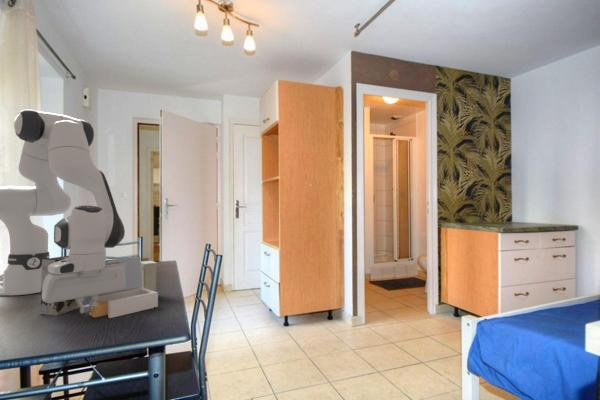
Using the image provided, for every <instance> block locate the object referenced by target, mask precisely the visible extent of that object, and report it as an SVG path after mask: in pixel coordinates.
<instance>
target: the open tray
mask: <svg viewBox="0 0 600 400" xmlns="http://www.w3.org/2000/svg"><path fill="white" fill-rule="evenodd" d="M109 300H111V301H109ZM104 301H108V315H107V318H108V319H112V318H116V317H120V316H125V315H128V314H133V313H137V312H141V311H145V310H149V309H154V307H155V308H158V307H159V305H158V304H159V292H158V291H156V292H155V291H152V290H149V289H145V288H142V287H140V288H135V289H129V290H124V291H118V292H113V293H107V294H102V295H98V299H97V301H96V303H99V302H104Z"/></svg>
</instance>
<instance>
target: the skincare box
mask: <svg viewBox="0 0 600 400" xmlns="http://www.w3.org/2000/svg"><path fill="white" fill-rule="evenodd" d="M140 261H141V276H142V288H145V289H149V290H152V291H155V292H157V291H156V290H157V267H158V262H156V261H154V260H144V261H143V260H140Z"/></svg>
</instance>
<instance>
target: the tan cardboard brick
mask: <svg viewBox="0 0 600 400" xmlns="http://www.w3.org/2000/svg"><path fill="white" fill-rule="evenodd" d="M109 301H111V300H109ZM88 315H89V316H90V317H92V318H94V319H95V318H98V317H99V318H100V317H103V316H108V301H104V302H99V303H95V304H94V306H93V311H91V312H88Z"/></svg>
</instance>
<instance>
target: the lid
mask: <svg viewBox="0 0 600 400" xmlns="http://www.w3.org/2000/svg"><path fill="white" fill-rule="evenodd" d="M109 260H110V259H106V261H109ZM112 260H121V261H124V262H125V264H126V270H125V277H126V287H125V288H124V290H129V289H135V288H140V287H142V276H141V261H142V260H141V256H133V257H132V256H131V257H124V258H123V257H122V258H115V259H112ZM121 263H123V262H121ZM114 264H115V263H114ZM124 290H121V291H124ZM115 292H118V291H115ZM110 293H113V292H110ZM104 294H107V293H104ZM99 295H102V294H99Z"/></svg>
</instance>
